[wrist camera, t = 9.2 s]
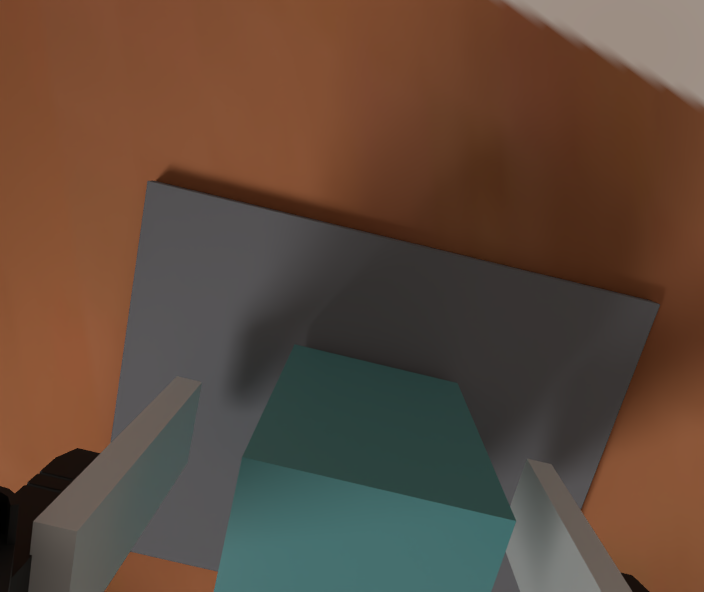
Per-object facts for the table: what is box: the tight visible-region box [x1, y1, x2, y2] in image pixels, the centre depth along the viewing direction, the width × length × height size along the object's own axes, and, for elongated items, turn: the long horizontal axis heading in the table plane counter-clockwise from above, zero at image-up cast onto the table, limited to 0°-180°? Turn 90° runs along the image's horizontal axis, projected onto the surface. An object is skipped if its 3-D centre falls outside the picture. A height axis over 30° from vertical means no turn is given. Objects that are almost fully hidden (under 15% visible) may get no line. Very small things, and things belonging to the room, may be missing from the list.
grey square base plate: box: [111, 181, 660, 592], centre depth 14 cm, size 16×13×7 cm
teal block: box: [214, 344, 516, 592], centre depth 13 cm, size 5×5×7 cm
